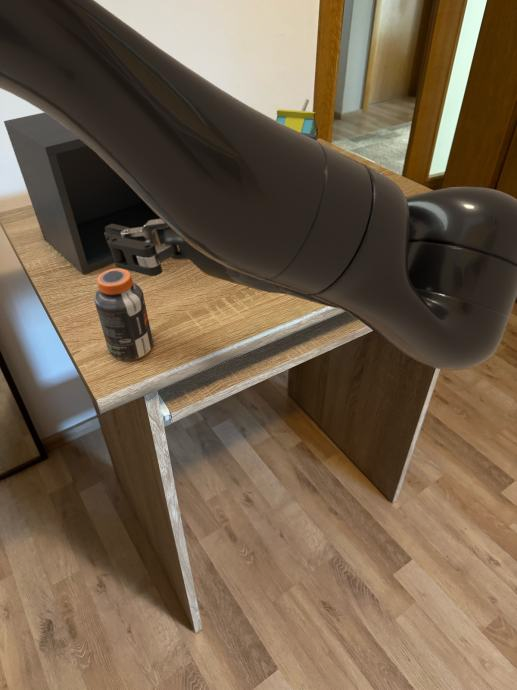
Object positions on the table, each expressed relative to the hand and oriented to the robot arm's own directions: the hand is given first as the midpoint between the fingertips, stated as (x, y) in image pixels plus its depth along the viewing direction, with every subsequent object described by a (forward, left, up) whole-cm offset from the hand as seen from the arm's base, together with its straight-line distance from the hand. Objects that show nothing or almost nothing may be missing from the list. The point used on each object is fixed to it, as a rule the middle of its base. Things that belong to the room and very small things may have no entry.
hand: (145, 219), depth 50 cm
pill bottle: (-5, +4, -20) cm, 21 cm away
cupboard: (-6, +37, -20) cm, 42 cm away
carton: (+29, +43, -20) cm, 56 cm away
